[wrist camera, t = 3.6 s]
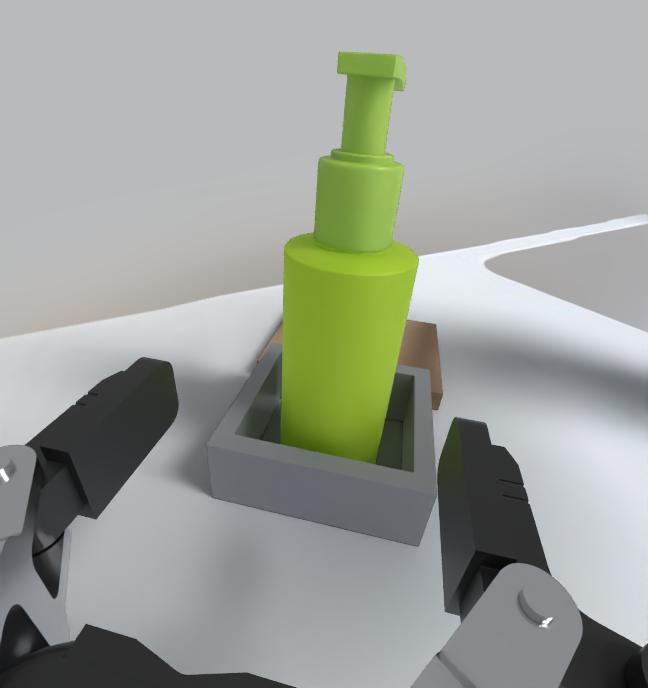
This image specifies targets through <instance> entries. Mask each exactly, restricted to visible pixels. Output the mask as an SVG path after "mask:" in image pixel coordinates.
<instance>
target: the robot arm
mask: <svg viewBox="0 0 648 688" xmlns="http://www.w3.org/2000/svg"><path fill="white" fill-rule="evenodd" d="M178 404H179V403H178V397H177V391H176V385H175V379H174V373H173V368H172V365H171V364H170V363H169V362H167V361H162V360H156V359H151V358H146V357H142V358H140V359H138V360H137V361H136V362H135V363H134V364H132V365H131V366H130V367H129V368H128V369H127V370H125V371H120V372H118V373H116V374H114V375H112V376H110V377H108V378H106V379H104V380H102V381H101V382H100V383H98V384H97V385H96V386H95V387H94V388H92V389H91V390H90V391H89V392H88V394H87V395H84V396H83V397H82V398H80V399H79V400H78V401H77V402H76V405H72V406H71V407H70V408H69V409H67V410H66V411H65V412H64V413H63V414H61V415H60V416H59V417H58V418H57V419H55V420H54V421H53V422H52V423H51V424H49V425H48V426H47V427H46V428H45V429H43V430H42V431H41V432H40V433H39V434H38V435H36V436H35V437H34V438H33V439H32V440H30V441H29V442H28V443H27V444H25V445H9V446H3V447H0V688H296V687H293V686H289V685H286V684H283V683H279V682H276V681H273V680H269V679H266V678H263V677H260V676H256V675H253V674H250V673H223V674H199V675H184V674H181V673H179V672H177V671H176V670H175V669H173V668H172V667H171V666H169V665H168V664H167V663H166V662H164V661H163V660H162V659H161V658H159V657H158V656H157V655H156V654H154V653H153V652H152V651H150V650H149V649H148V648H147V647H145V646H144V645H143V644H142V643H140V642H139V641H138V640H137V639H134V638H131V637H128V636H124V635H121V634H118V633H114V632H111V631H108V630H104V629H101V628H98V627H94V626H91V625H88V624H86V625H85V626H84V628H83V629H82V631H81V632H80V634H79V635H78V637H77V638H76V640H75V641H70V633H69V626H68V621H67V617H66V591H67V579H68V567H69V555H70V544H71V527H70V523H71V522H72V521H73V520H74V519H75V517H76V516H77V515H81V516H85V517H89V518H92V519H97V518H98V516H99V515H100V514H101V513H102V511H103V510H104V509H105V508H106V506H107V505H108V504H109V503H110V501H111V500H112V499H113V498H114V496H115V495H116V494H117V493H118V491H119V490H120V489H121V487H122V486H123V485H124V484H125V482H126V481H127V480H128V479H129V477H130V476H131V475H132V474H133V472H134V471H135V470H136V469H137V467H138V466H139V465H140V464H141V462H142V461H143V460H144V459H145V457H146V456H147V455H148V454H149V452H150V451H151V450H152V449H153V447H154V446H155V445H156V443H157V442H158V441H159V440H160V438H161V437H162V436H163V435H164V433H165V432H166V431H167V430H168V428H169V427H170V426H171V425H172V423H173V422H174V420H175V418H176V415H177V412H178ZM437 485H438V502H439V519H440V537H441V554H442V571H443V589H444V606H445V612H448V613H452V614H455V615H459V616H460V619H461V625H460V626H459V627H458V629H457V630H456V631H455V633H454V634H453V635H452V637H451V638H450V639H449V641H448V642H447V644H446V645H445V646H444V647H443V649H442V650H441V651H440V652H438V653H437V654H436V655H435V656H434V657H433V659H432V660H431V661H430V662H429V664H428V665H427V666H426V668H425V669H424V670H423V671H422V673H421V674H420V676H419V677H418V678H417V680H416V681H415V682H414V684H413V685H412V686H411V688H648V644H646V645H645V646H644V647H641V646H639V645H637V644H635V643H634V642H632V641H630V640H628V639H626V638H625V637H623V636H621V635H619V634H617V633H616V632H614V631H612V630H610V629H608V628H607V627H605V626H603V625H601V624H599V623H598V622H596V621H594V620H593V619H591V618H589V617H588V616H587V615H585V614H584V613H583V612H581V611H580V610H579V609H578V608H577V606H576V604H575V602H574V600H573V599H572V597H571V596H570V594H569V593H568V592H567V590H566V589H565V588H564V587H563V586H562V585H561V584H560V583H559V582H558V581H557V580H556V579H555V578H554V577H552V575H551V573H550V571H549V568H548V565H547V561H546V558H545V555H544V551H543V548H542V544H541V541H540V538H539V534H538V531H537V527H536V524H535V520H534V517H533V514H532V510H531V507H530V504H528V497H527V493H526V490H525V488H524V487H523V485H524V483H523V480H522V476H521V473H520V469H519V466H518V464H517V463H516V461H515V460H514V459H513V457H512V456H511V455H510V453H509V452H508V451H507V449H506V448H505V447H501V446H496V445H491V441H490V437H489V432H488V428H487V425H486V423H484V422H479V421H474V420H468V419H463V418H458V417H455V418H454V419H453V421H452V424H451V427H450V430H449V433H448V436H447V438H446V441H445V444H444V447H443V450H442V453H441V456H440V460H439V465H438V474H437Z"/></svg>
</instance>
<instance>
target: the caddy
mask: <svg viewBox="0 0 648 688" xmlns="http://www.w3.org/2000/svg"><path fill="white" fill-rule="evenodd" d="M281 392H282V344H279V343H273V342H272V343H271V344H270V346H269V347H268V349H267V351H266V352H265V354H264V355H263V357H262V358H261V360H260V361H259V363H258V365H257V366H256V368H255V369H254V371H253V372H252V374H251V375H250V377H249V379H248V380H247V382H246V383H245V385H244V386H243V388H242V389H241V391H240V393H239V394H238V396H237V397H236V399H235V400H234V402H233V403H232V405H231V406H230V408H229V410H228V411H227V413H226V414H225V416H224V417H223V419H222V420H221V422H220V424H219V425H218V427H217V428H216V430H215V431H214V433H213V434H212V436H211V438H210V439H209V441H208V442H207V444H206V450H207V458H208V466H209V474H210V481H211V489H212V497H213V498H217V499H221V500H225V501H230V502H234V503H238V504H242V505H246V506H250V507H255V508H259V509H263V510H267V511H271V512H276V513H280V514H284V515H288V516H292V517H297V518H301V519H305V520H309V521H313V522H318V523H322V524H326V525H330V526H334V527H339V528H343V529H347V530H351V531H355V532H360V533H364V534H368V535H372V536H376V537H380V538H385V539H389V540H393V541H397V542H401V543H406V544H410V545H414V546H418V547H419V544H420V541H421V538H422V536H423V533H424V530H425V527H426V524H427V522H428V519H429V516H430V513H431V511H432V508H433V505H434V502H435V499H436V497H437V487H436V470H435V452H434V435H433V418H432V400H431V383H430V370H428V369H422V368H416V367H410V366H405V365H399V364H397V366H396V371H395V376H394V380H393V385H392V390H391V395H390V399H389V404H388V409H387V413H386V418H388V419H393V420H398V421H403V442H402V467H401V470H399V469H394V468H389V467H385V466H380V465H375V464H371V463H366V462H361V461H356V460H352V459H347V458H342V457H338V456H333V455H328V454H324V453H319V452H314V451H309V450H305V449H300V448H295V447H291V446H286V445H281V444H276V443H272V442H267V441H262V440H260V439H261V437H262V435H263V432H264V430H265V428H266V426H267V424H268V422H269V420H270V418H271V416H272V414H273V412H274V410H275V408H276V406H277V404H278V402H279V399H280V398H281Z"/></svg>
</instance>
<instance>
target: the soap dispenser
mask: <svg viewBox="0 0 648 688" xmlns="http://www.w3.org/2000/svg"><path fill="white" fill-rule="evenodd" d="M337 73H338V74H345V75H347V87H346V98H345V109H344V122H343V132H342V144H341V149H333V150H332V151H331V155H330V156H323V157H321V158H320V159H319V162H318V176H317V192H316V209H315V210H316V211H315V226H314V233H307V234H303V235H299V236H296V237H294V238H292V239H290V240H289V241H288V242H287V243H286V244H285V247H284V288H283V340H282V392H281V443H280V444H281V445H286V446H291V447H295V448H300V449H305V450H309V451H314V452H319V453H324V454H328V455H333V456H338V457H342V458H347V459H352V460H356V461H361V462H366V463H371V464H375V465H376V460H377V456H378V451H379V446H380V442H381V437H382V432H383V428H384V423H385V418H386V413H387V409H388V404H389V399H390V395H391V390H392V385H393V380H394V376H395V371H396V366H397V362H398V357H399V352H400V347H401V343H402V338H403V333H404V329H405V324H406V319H407V315H408V310H409V305H410V300H411V296H412V291H413V286H414V282H415V277H416V272H417V267H418V263H419V258H418V256H417V254H416V253H415V252H414V251H413V250H411V249H410V248H408V247H406V246H405V245H403V244H400V243H398V242H395V241H393V234H394V228H395V222H396V216H397V210H398V204H399V198H400V193H401V187H402V181H403V175H404V166H403V165H402V164H400V163H398V162H395V161H393V160H394V156H393V155H392V154H389V153H385V147H386V141H387V134H388V126H389V119H390V112H391V105H392V98H393V91H404V88H405V84H406V66H405V62H404V59H403V57H402V56H399V55H392V54H391V55H390V54H375V53H357V52H339V54H338V68H337Z"/></svg>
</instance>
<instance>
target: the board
mask: <svg viewBox="0 0 648 688" xmlns="http://www.w3.org/2000/svg"><path fill="white" fill-rule="evenodd" d="M282 340H283V322H282V323H281V325H280V326H279V328H278V329H277V331H276V332H275V334H274V335H273V337H272V338H271V340H270V342H269V343H268V345H267V346H266V348H265V349H264V351H263V352H262V354H261V355H260V357H259V358H258V360H257V365H258V363H259V361H260V360H261V358H262V357H263V355H264V354H265V352H266V351H267V349H268V347H269V346H270V344H271V343H272V342H273V343H279V344H282ZM397 364H399V365H405V366H410V367H416V368H422V369H428V370H430V383H431V400H432V409H435V410H438V408H439V405H440V402H441V399H442V395H443V391H442V381H441V371H440V361H439V350H438V340H437V330H436V324H431V323H425V322H418V321H412V320H406V324H405V329H404V333H403V338H402V343H401V347H400V352H399V357H398V362H397Z"/></svg>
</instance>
